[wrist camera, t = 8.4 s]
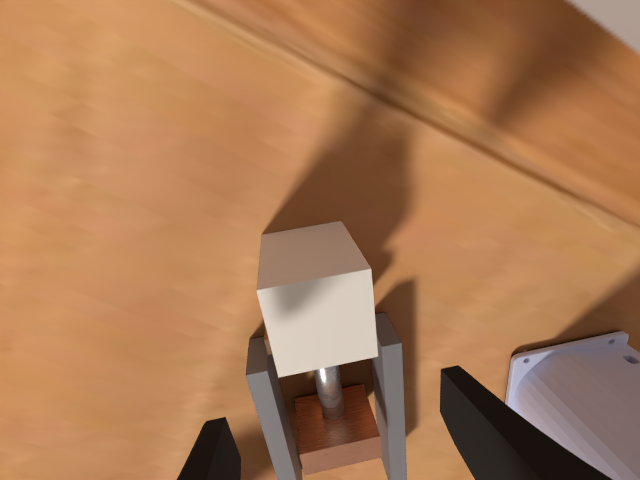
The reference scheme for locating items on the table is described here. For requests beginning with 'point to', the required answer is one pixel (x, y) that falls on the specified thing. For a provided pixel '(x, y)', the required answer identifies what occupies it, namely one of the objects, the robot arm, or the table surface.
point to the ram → (334, 423)
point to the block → (316, 298)
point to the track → (385, 391)
